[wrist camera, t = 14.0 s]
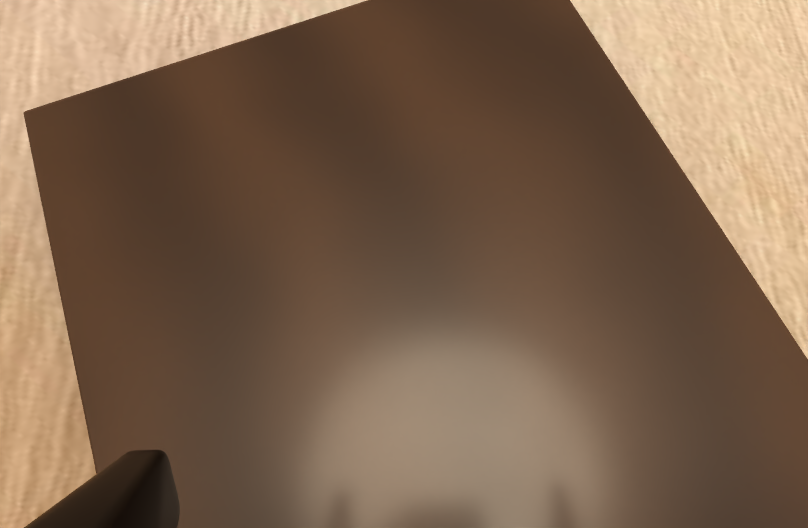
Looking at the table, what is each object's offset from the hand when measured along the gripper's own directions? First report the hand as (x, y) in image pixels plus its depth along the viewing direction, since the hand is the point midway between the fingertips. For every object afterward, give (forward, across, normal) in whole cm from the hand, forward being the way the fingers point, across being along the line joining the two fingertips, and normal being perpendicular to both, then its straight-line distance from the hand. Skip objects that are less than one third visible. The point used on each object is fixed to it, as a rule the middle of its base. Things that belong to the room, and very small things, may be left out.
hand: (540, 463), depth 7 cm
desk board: (+12, +1, +5) cm, 13 cm away
